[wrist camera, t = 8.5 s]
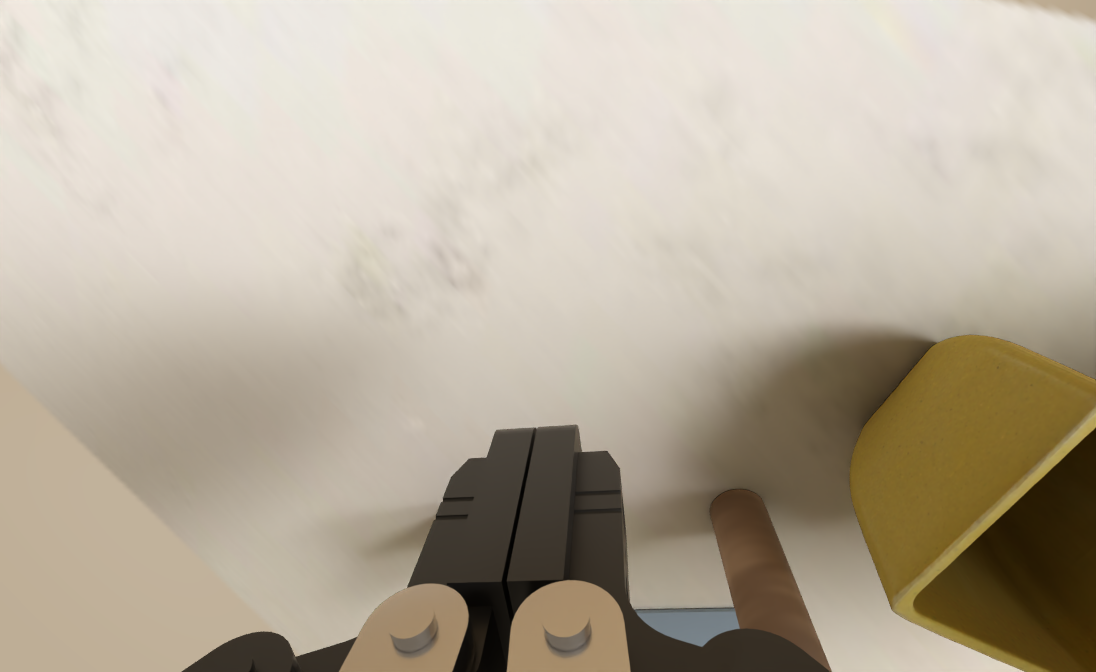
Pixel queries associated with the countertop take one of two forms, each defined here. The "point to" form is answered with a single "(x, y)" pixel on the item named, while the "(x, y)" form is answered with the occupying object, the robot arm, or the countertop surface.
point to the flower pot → (986, 502)
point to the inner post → (761, 572)
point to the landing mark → (691, 623)
